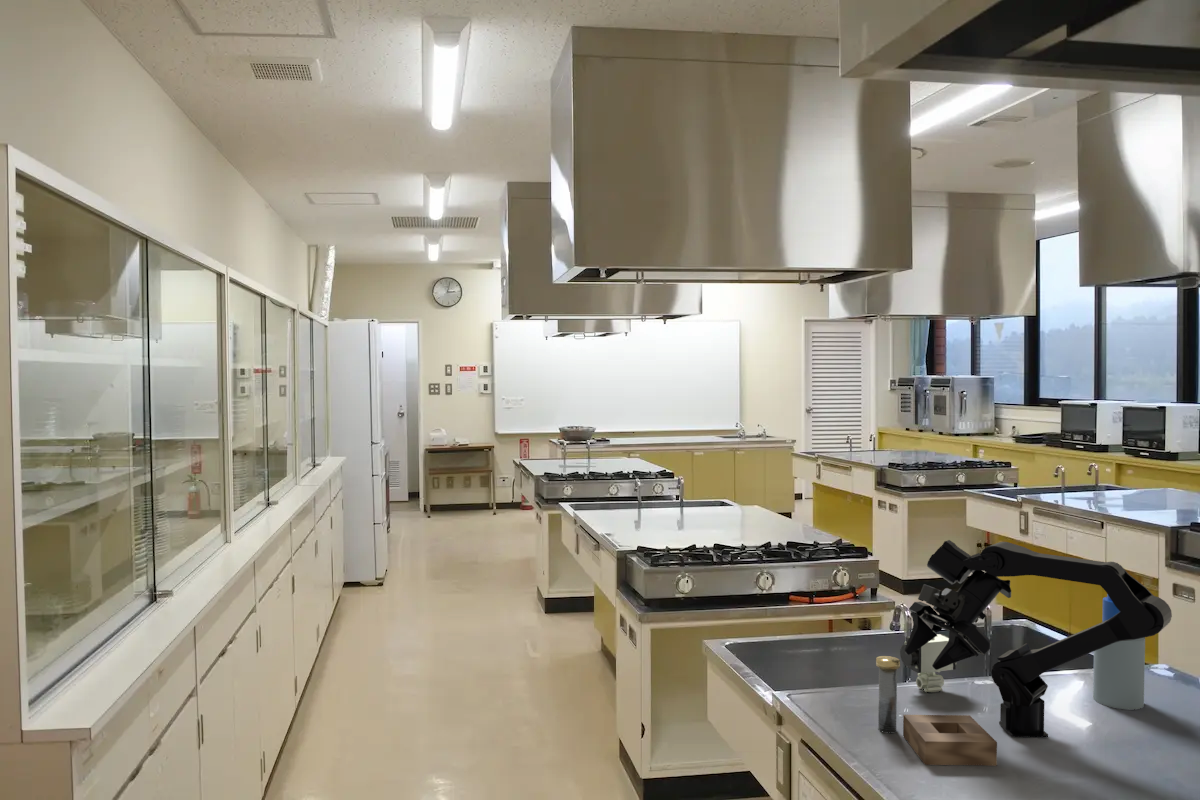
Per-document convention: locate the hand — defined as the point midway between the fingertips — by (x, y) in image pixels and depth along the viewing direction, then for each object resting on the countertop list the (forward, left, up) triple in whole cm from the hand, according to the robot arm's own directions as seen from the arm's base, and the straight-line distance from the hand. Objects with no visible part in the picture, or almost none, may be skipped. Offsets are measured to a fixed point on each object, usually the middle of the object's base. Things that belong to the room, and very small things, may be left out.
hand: (919, 660), depth 169 cm
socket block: (-1, +11, -12) cm, 17 cm away
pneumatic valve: (-8, -20, -13) cm, 25 cm away
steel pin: (+7, +2, -12) cm, 14 cm away
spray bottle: (-44, -14, -13) cm, 48 cm away
